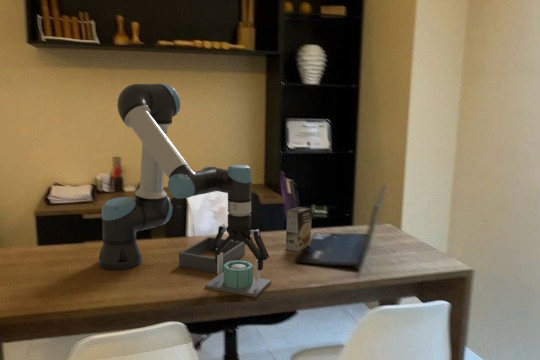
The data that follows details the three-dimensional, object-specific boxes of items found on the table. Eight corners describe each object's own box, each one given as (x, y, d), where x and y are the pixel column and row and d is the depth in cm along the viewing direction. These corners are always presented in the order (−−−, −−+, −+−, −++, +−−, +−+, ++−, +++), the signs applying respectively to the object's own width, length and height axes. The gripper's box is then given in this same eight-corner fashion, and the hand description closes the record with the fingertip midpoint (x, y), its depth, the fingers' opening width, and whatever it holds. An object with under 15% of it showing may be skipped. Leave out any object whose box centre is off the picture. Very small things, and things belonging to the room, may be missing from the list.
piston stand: (204, 287, 173) (204, 268, 172) (223, 274, 185) (223, 256, 183) (255, 297, 166) (256, 277, 165) (271, 283, 178) (271, 264, 177)
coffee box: (298, 252, 210) (300, 212, 207) (285, 248, 214) (286, 210, 211) (310, 246, 217) (312, 208, 214) (297, 243, 221) (298, 206, 218)
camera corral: (179, 266, 192) (178, 253, 191) (208, 248, 212) (208, 236, 211) (218, 273, 186) (218, 259, 185) (244, 254, 206) (244, 242, 205)
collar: (219, 285, 173) (219, 267, 172) (231, 275, 181) (231, 259, 180) (244, 289, 169) (245, 271, 168) (256, 280, 178) (256, 263, 177)
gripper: (199, 211, 172) (199, 273, 176) (271, 220, 163) (269, 286, 167) (210, 206, 179) (210, 266, 183) (279, 215, 170) (278, 277, 174)
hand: (238, 275), depth 175 cm, fingers open, 13 cm apart
